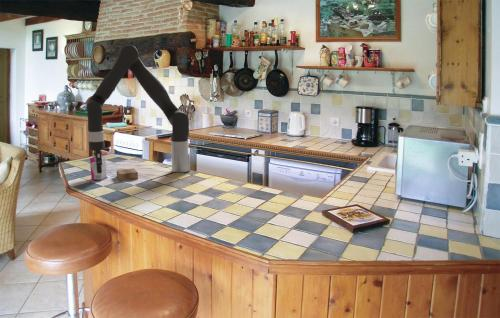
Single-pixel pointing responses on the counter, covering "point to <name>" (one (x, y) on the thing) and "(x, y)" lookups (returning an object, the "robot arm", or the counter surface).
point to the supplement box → (94, 170)
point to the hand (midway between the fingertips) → (98, 171)
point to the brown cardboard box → (127, 174)
